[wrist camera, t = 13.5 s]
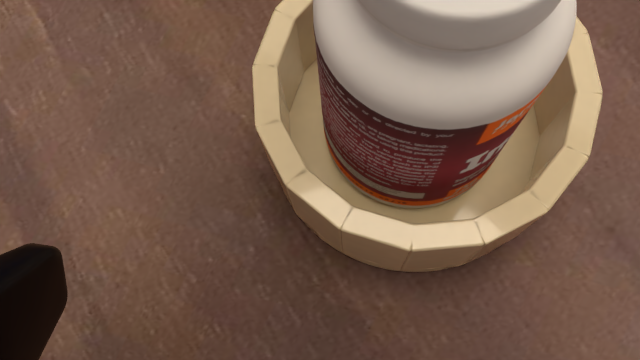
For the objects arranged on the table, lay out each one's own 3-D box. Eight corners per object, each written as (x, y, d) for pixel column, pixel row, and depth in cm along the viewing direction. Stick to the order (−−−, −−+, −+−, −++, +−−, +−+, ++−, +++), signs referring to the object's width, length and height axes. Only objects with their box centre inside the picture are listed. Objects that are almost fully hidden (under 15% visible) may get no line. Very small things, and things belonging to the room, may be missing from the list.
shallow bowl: (578, 258, 21) (636, 231, 17) (280, 284, 21) (261, 265, 17) (525, -2, 24) (562, -81, 20) (264, 24, 24) (245, -49, 20)
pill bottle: (469, 237, 21) (592, 104, 10) (300, 180, 22) (249, 4, 11) (517, 79, 22) (666, -178, 12) (357, 32, 23) (361, -246, 13)
